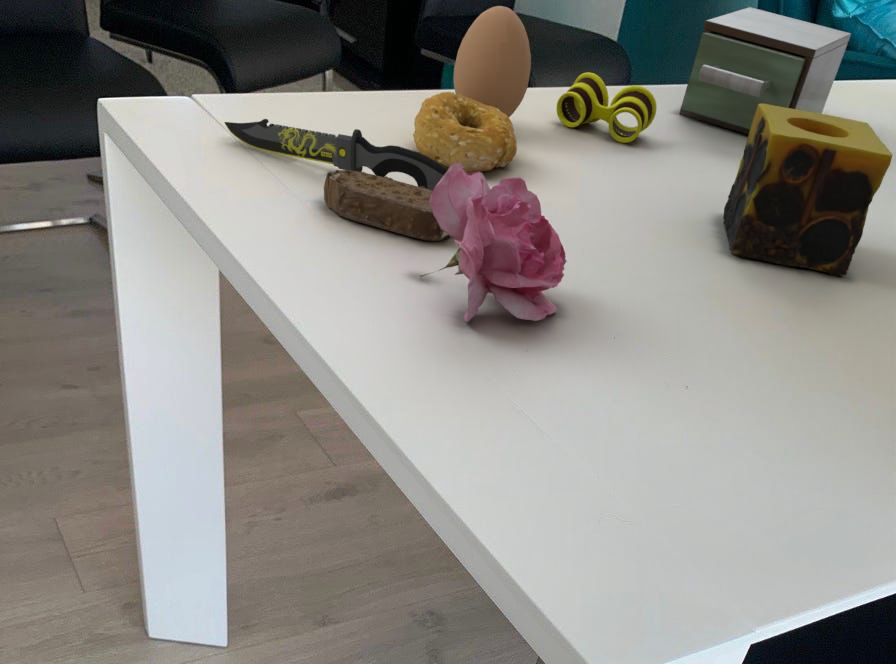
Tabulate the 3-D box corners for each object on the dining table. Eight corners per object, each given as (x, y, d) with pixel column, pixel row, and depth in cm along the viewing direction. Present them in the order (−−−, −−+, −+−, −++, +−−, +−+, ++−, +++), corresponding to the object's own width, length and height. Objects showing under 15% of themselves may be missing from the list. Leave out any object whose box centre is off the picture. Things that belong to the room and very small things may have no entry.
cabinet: (782, 145, 117) (816, 49, 110) (678, 113, 121) (705, 20, 114) (818, 121, 127) (851, 33, 121) (722, 93, 132) (749, 6, 125)
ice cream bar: (336, 193, 86) (339, 159, 84) (505, 239, 83) (512, 205, 81) (309, 211, 82) (311, 176, 80) (485, 261, 79) (492, 225, 77)
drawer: (763, 145, 112) (790, 65, 107) (666, 115, 116) (688, 37, 110) (810, 116, 125) (837, 43, 120) (722, 90, 129) (743, 19, 124)
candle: (846, 279, 87) (898, 157, 80) (728, 256, 87) (771, 133, 81) (827, 236, 95) (873, 122, 88) (719, 216, 95) (757, 99, 88)
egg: (518, 121, 109) (540, 5, 102) (519, 142, 103) (542, 21, 96) (448, 109, 109) (465, -8, 102) (445, 130, 103) (463, 7, 96)
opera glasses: (550, 130, 111) (557, 83, 107) (570, 111, 114) (577, 64, 110) (633, 155, 108) (644, 107, 104) (651, 135, 111) (662, 88, 107)
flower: (559, 345, 77) (621, 273, 68) (439, 365, 74) (487, 292, 65) (514, 210, 79) (568, 122, 69) (394, 223, 76) (435, 133, 66)
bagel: (411, 169, 93) (418, 113, 90) (410, 132, 101) (417, 80, 98) (518, 184, 94) (529, 129, 90) (509, 147, 102) (519, 95, 99)
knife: (222, 167, 93) (217, 107, 90) (232, 164, 94) (227, 104, 91) (453, 213, 85) (456, 149, 82) (460, 209, 86) (465, 145, 83)
